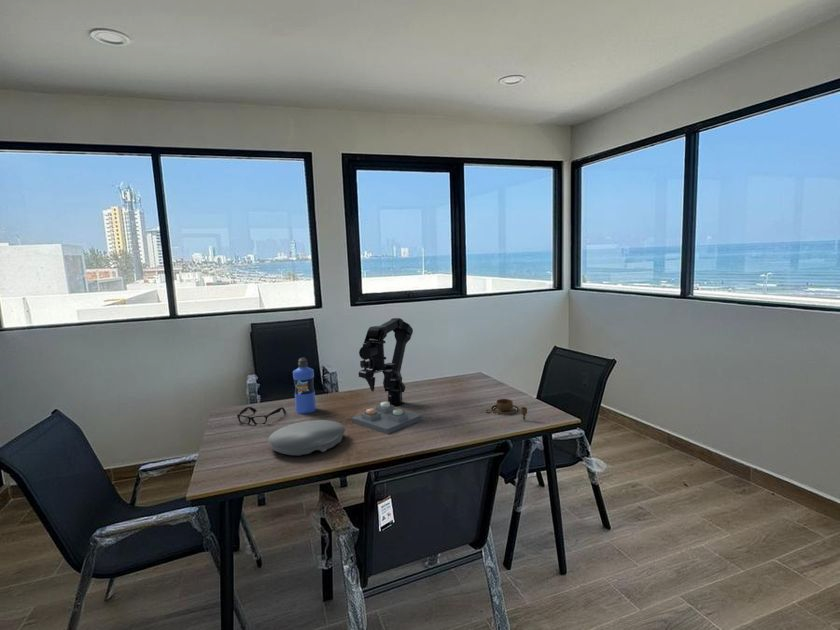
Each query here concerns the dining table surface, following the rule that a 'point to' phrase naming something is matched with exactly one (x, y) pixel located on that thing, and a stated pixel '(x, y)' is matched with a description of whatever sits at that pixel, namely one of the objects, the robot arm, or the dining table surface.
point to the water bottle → (304, 388)
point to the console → (386, 420)
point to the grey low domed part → (306, 437)
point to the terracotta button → (371, 411)
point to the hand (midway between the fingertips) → (379, 389)
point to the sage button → (397, 412)
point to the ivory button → (385, 405)
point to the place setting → (507, 407)
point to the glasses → (257, 416)
